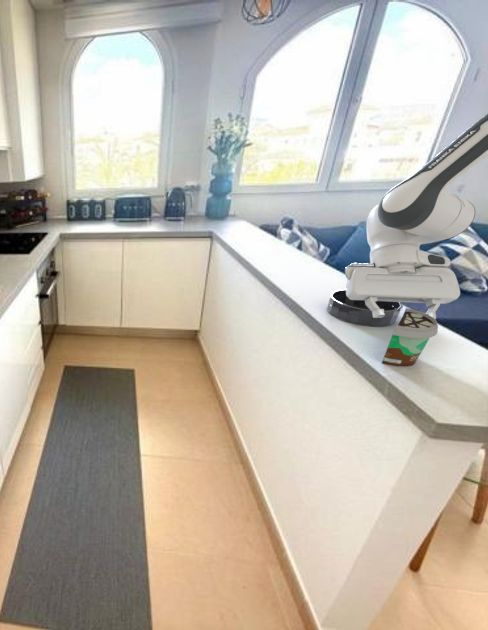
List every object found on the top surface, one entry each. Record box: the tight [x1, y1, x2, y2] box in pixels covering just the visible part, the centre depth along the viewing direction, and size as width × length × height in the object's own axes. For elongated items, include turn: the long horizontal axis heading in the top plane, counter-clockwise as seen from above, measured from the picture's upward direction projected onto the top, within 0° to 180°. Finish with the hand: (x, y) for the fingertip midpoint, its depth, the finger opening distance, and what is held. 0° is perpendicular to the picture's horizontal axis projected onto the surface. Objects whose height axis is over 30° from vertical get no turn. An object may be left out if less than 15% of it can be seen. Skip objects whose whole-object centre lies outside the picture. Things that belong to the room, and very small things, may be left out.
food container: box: [381, 307, 439, 367], centre depth 75 cm, size 12×6×10 cm, turn 131°
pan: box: [326, 288, 404, 328], centre depth 97 cm, size 16×16×4 cm
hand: (403, 318), depth 78 cm, fingers open, 8 cm apart
